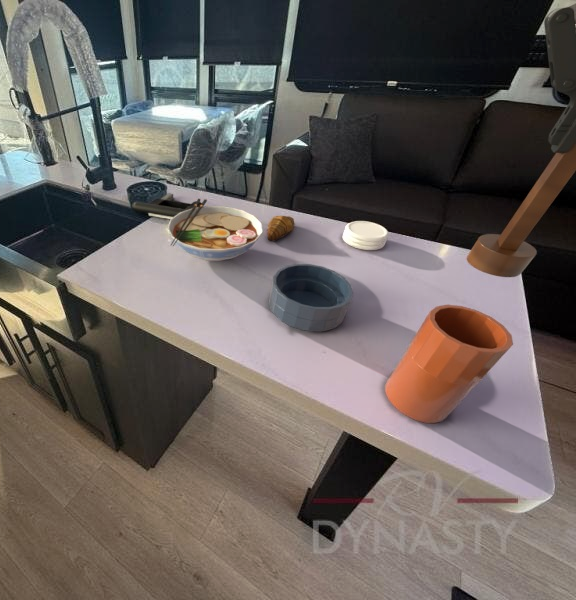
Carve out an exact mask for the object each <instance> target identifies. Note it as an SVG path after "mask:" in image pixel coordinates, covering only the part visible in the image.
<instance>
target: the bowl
mask: <svg viewBox="0 0 576 600" xmlns="http://www.w3.org/2000/svg"><path fill="white" fill-rule="evenodd" d="M271 282H272V283H271V286H270V292H269V297H268V306H269V308H270V311H271V312H272V314H273V315H274V316H275V317H276V318H277V319H278V320H279V321H280V322H282V323H284V324H286V325H288V326H290V327H292V328H294V329H298V330H301V331H305V332H325V331H330V330H334V329H336V328H337V327H338V326H339V325H341V324H342V323H343V322H344V319H345V316H346V313H347V311H348V308H349V307H350V304H351V301H352V298H353V295H354V291H353V290H354V289H353V286H352V284H351V283H350V282H349V281H348V279H347V278H346V277H345V276H343V275H342V274H340V273H339V272H337V271H335V270H334V269H330V268H327V267H325V266H322V265H316V264H312V263H311V264H310V263H293V264H290V265H285V266H284V267H282V268H280V269H278V270H276V272H275V273H274V275H273V277H272V281H271Z"/></svg>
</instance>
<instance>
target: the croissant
mask: <svg viewBox="0 0 576 600" xmlns="http://www.w3.org/2000/svg"><path fill="white" fill-rule="evenodd" d="M295 225H296V224H295V219H294V218H293V216H290V215H289V216H286V215H275V216H273V217H272V219H270V221H269V223H268V224H267V229H266V234H267V241H269V242H276V241H278V240H280V239H282V238H283V237H286V235H289V234H290V233H291V232H292V231H293V230H294V227H295Z"/></svg>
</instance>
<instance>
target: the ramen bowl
mask: <svg viewBox="0 0 576 600" xmlns="http://www.w3.org/2000/svg"><path fill="white" fill-rule="evenodd" d="M196 201H197V202H196V203H195V205H194V207H193V208H192V209H189V210H186V211H183V212H180V213H179V214H177V215H176V216H174V217H173V218H172V219H169V223H168V225H167V230H168V232H169V235H170V237H171V238H172V241H171V243H170V246H172V247H174V246H175V245H176V246H177V247H178V248H179V249H180V250H182V251H183V252H185V253H186V254H188V255H189V256H191V257H194V258H196V259H200V260H204V261H213V262H215V261H216V262H218V261H220V262H221V261H225V260H230V259H234V258H237V257H238V256H241V255H243V254H244V253H246V252H247V251H249V250H250V248H252V247H253V245H254V244H255V243H256V242H257V241H258V239H260V237H261V236H262V234H263V232H264V231H263V222H261V221H260V220H259V219H258V217H256V215H254V214H252V213H250V212H247V211H245V210H243V209H239V208H234V207H230V206H221V205H219V206H218V205H206V204H207V201H208V200H207V198H204V199H203V201H202V202H201V198H197V199H196ZM199 202H201V203H202V204H201V205H200V207H198V208H196V207H197V205H198V204H199Z"/></svg>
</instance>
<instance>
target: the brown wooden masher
mask: <svg viewBox="0 0 576 600" xmlns="http://www.w3.org/2000/svg"><path fill="white" fill-rule="evenodd" d="M575 172H576V140H575V142H574V143H573V145H572V146H571V147H570V149H569V150H568V151H567V152H566V153H564V154H562V153H555V154H554V155H553V156H552V159H550V161H549V163H548V164H547V166H546V167H545V169H544V170H543V172H542V173H541V175H540V176H539V178H538V179H537V180H536V182H535V184H534V185H533V186H532V188H531V189H530V191H529V192H528V194H527V196H526V197H525V198H524V200H523V201H522V203H521V204H520V206H519V207H518V209H517V210H516V212H515V213H514V214H513V216H512V217H511V219H510V221H509V222H508V224H507V225H506V226H505V227H504V229H503V231H502V232H501V234H500V233H499V234H497V233H486V234H482V235H480V236H478V238H477V240H476V241H475V243H474V245H473V246H472V247H471V249H470V250H469V253H468V254H467V256H466V261H467V263H468V265H470V266H471V267H473V268H474V269H476V270H478V271H480V272H482V273H485V274H487V275H491V276H495V277H500V278H515V277H518V276H521V274H522V273H523V272H524V270H525V269H526V268H527V267H528V265H529V264H530V263H531V262H532V260H533V259H534V258H535V257H536V255H537V252H538V251H537V249H536V248H535V247H534V246H532V245H531V244H530V243H528V242H527V241H525V240H526V239H527V237H528V236H529V234H530V233H531V232H532V230H533V229H534V228H535V226H536V225H537V223H538V222H539V221H540V220H541V218H542V217H543V215H545V213H546V212H547V210H548V209H549V208H550V206H551V204H552V203H553V202H554V201H555V199H556V198H557V197H558V196H559V194H560V193H561V191H562V190H563V189H564V188H565V186H566V184H567V183H568V182H569V180H570V179H571V178H572V176H573V175H574V174H575Z"/></svg>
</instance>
